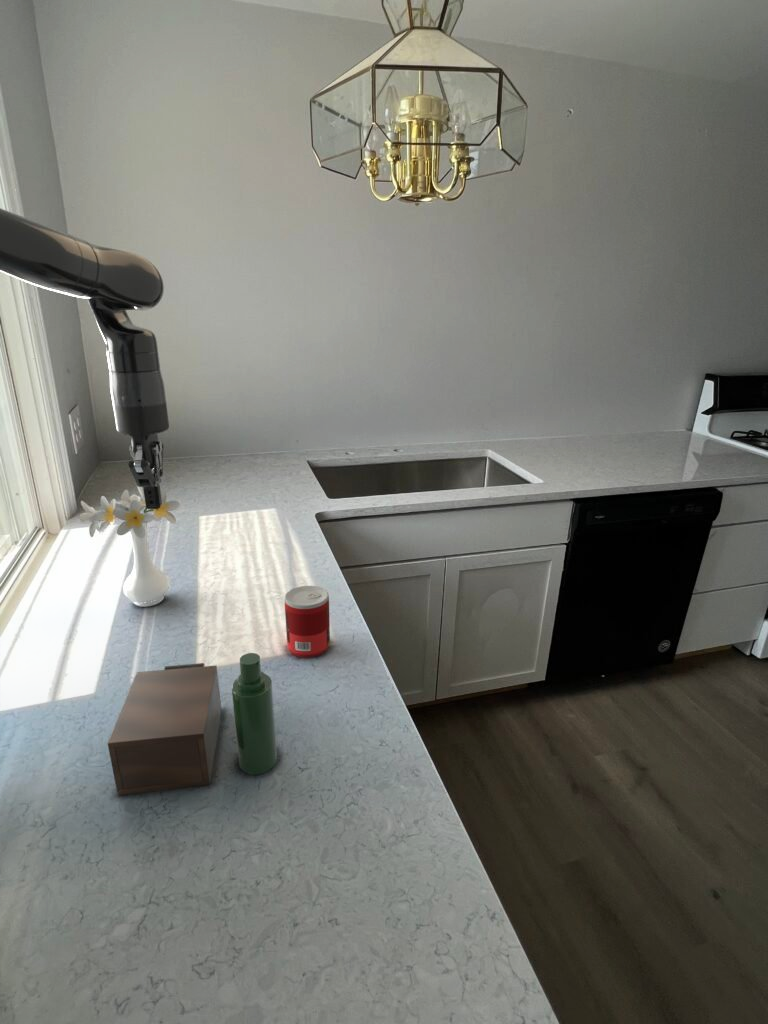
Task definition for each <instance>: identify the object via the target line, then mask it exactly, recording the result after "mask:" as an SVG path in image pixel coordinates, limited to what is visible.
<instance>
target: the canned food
mask: <svg viewBox="0 0 768 1024" xmlns="http://www.w3.org/2000/svg"><path fill="white" fill-rule="evenodd" d="M284 616H285V617H284V618H285V632H286V646H287V649H288V651H289V653H290V654H292V655H293V656H295V657H297V658H304V659H306V658H307V659H309V658H315V657H319V656H321V655H322V654H324V653H326V652H327V650H328V649H329V646H330V643H331V629H330V627H331V626H330V625H331V624H330V595H329V591H327V589H325V588H323V587H321V586H317V585H301V586H298V587H294V588H291V589H290V590H288V591H287V592H286V593H285V595H284Z"/></svg>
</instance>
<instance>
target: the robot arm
mask: <svg viewBox="0 0 768 1024" xmlns="http://www.w3.org/2000/svg"><path fill="white" fill-rule="evenodd" d="M0 273H3V274H6V275H8V276H10V277H13V278H15V279H17V280H21V281H22V282H25V283H28V284H30V285H33V286H36V287H39V288H42V289H44V290H47V291H52V292H56V293H59V294H63V295H67V296H70V297H74V298H79V299H86V302H87V303H88V306H89V308H90V311H91V313H92V315H93V318H94V320H95V322H96V324H97V327H98V329H99V332H100V334H101V336H102V338H103V341H104V343H105V351H106V357H107V364H108V370H109V388H110V395H111V401H112V408H113V415H114V420H115V427H116V431H117V433H119V434H121V435H124V436H129V437H131V445H129V454H130V457H131V458H132V460H128V463H127V464H128V468H129V470H130V472H131V474H132V477H133V478H134V479H133V480H134V481H135V483H136V485H137V488H138V487H143V490H144V497H145V504H146V508H147V510H150V509H159V508H160V506H161V505H162V499H161V491H160V489H161V482H162V478H161V477H163V475H164V472H163V471H164V448H165V445H164V444H163V442H162V441H161V440H159V436H158V434H162V433H164V432H167V431H168V430H169V429H170V422H169V415H168V405H167V397H166V389H165V383H164V379H163V376H162V371H161V363H160V355H159V345H158V341H157V340H158V339H157V336H156V334H155V333H154V332H153V331H152V330H150V329H148V328H144V327H141V326H138V325H136V324H134V323H133V321H132V320H131V317H130V316H129V314H128V312H127V311H149V310H151V309H153V308H155V307H156V306H157V305H159V304H160V302H161V301H162V299H163V296H164V294H165V293H164V290H165V284H164V280H163V277H162V275H161V273H160V272H159V270H158V268H157V267H156V266H155V265H154V263H152V262H151V261H150V260H148V258H145V257H144V256H141V255H139V254H136V253H132V252H129V251H124V250H121V249H120V250H119V249H116V248H112V247H106V246H101V245H96V244H94V243H91V242H88V241H86V240H84V239H82V238H79V237H77V236H75V235H73V234H70V233H67V232H65V231H62V230H60V229H57V228H54V227H52V226H50V225H47V224H44V223H41V222H39V221H36V220H33V219H30V218H28V217H25V216H22V215H20V214H17V213H14V212H12V211H9V210H6V209H3V208H1V207H0Z"/></svg>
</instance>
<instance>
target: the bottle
mask: <svg viewBox="0 0 768 1024" xmlns="http://www.w3.org/2000/svg"><path fill="white" fill-rule="evenodd" d="M239 671H240V674H239V675H238V677H236V678H235V680H233V682H232V685H231V695H232V706H233V715H234V725H235V735H236V736H235V737H236V745H237V755H238V756H237V757H238V766H239V768H240V770H242V772H243V773H244V774H248V775H251V776H258V775H262V774H265V773H267V772H269V771H271V770H272V769H273V768H274V766H275V765H276V763H277V760H278V753H277V738H276V723H275V722H276V721H275V709H274V695H273V682H272V679H271V677H270V676H269V675H268V674H266V673H265V672H264V671H262V667H261V657H260V655H259V654H258V653H256V652H247V653H245V654H242V655H241V657H240V658H239Z"/></svg>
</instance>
